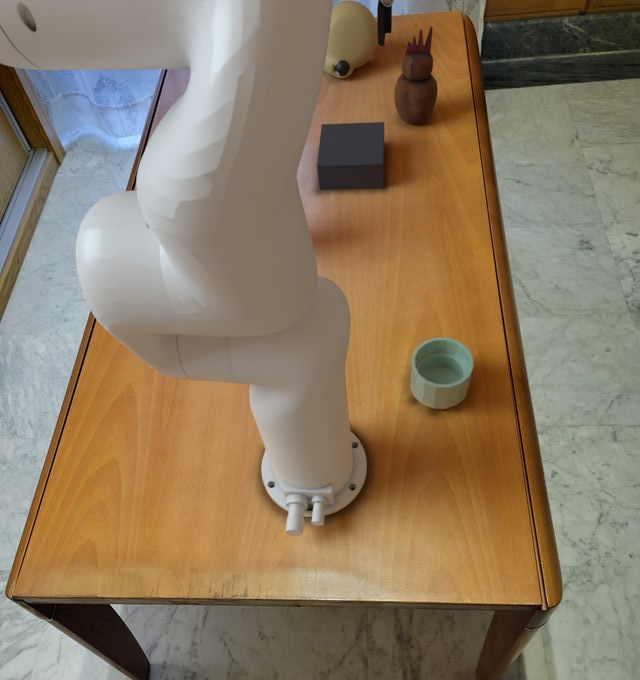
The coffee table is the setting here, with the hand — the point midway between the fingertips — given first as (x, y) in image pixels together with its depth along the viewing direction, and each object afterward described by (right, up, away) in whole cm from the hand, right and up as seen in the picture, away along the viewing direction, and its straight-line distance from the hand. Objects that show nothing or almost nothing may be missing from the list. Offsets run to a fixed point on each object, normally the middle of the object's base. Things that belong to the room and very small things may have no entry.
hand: (338, 40), depth 71 cm
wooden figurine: (+14, +9, +36) cm, 40 cm away
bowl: (+13, -38, +10) cm, 41 cm away
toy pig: (+3, +23, +46) cm, 51 cm away
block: (+3, -1, +32) cm, 32 cm away
